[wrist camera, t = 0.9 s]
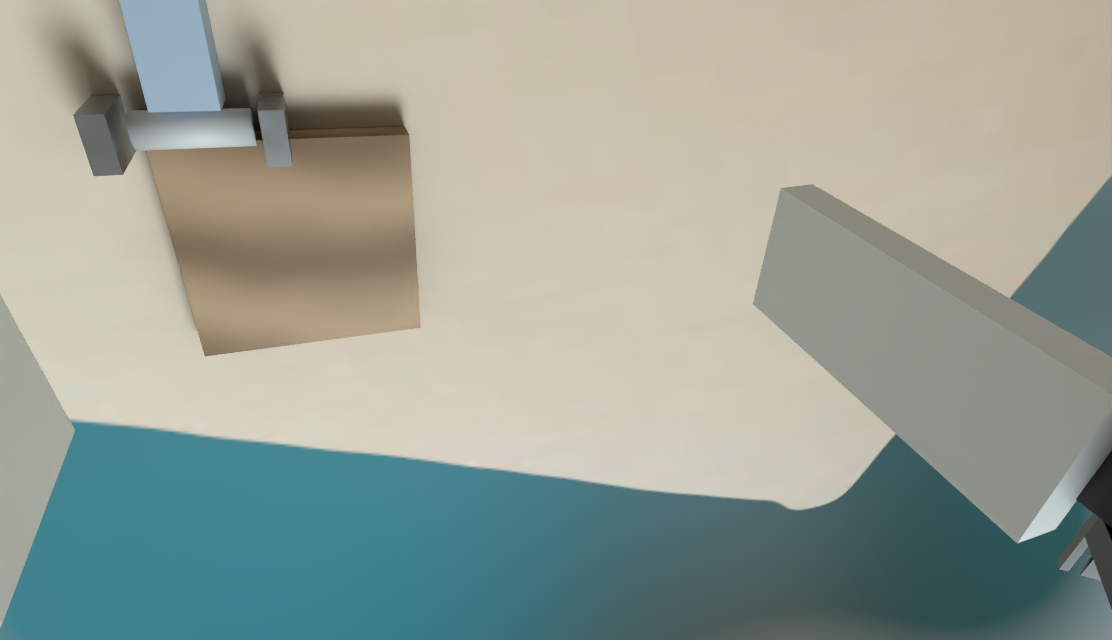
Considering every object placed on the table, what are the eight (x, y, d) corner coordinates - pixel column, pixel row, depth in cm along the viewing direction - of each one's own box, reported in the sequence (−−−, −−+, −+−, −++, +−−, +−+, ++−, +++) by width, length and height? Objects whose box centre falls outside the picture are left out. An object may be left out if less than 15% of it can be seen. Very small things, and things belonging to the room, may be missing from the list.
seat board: (149, 134, 28) (144, 144, 27) (404, 126, 31) (409, 134, 30) (207, 341, 34) (204, 356, 33) (416, 314, 37) (420, 327, 36)
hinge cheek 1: (91, 95, 26) (73, 114, 24) (119, 94, 27) (103, 114, 24) (109, 152, 28) (93, 175, 25) (136, 151, 28) (122, 174, 26)
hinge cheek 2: (259, 92, 28) (257, 110, 26) (283, 92, 29) (283, 109, 26) (268, 145, 30) (268, 167, 27) (291, 144, 30) (292, 166, 28)
